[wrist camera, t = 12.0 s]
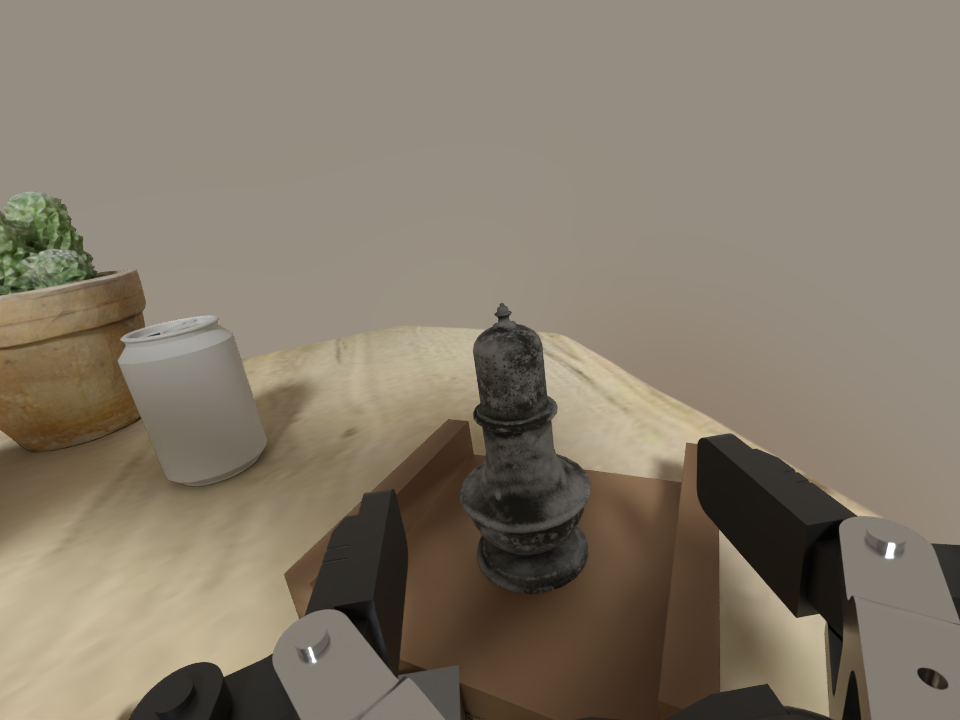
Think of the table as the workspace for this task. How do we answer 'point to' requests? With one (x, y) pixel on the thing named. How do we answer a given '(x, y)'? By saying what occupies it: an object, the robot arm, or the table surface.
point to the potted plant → (60, 331)
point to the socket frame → (441, 690)
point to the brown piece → (557, 597)
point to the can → (193, 399)
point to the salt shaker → (522, 470)
